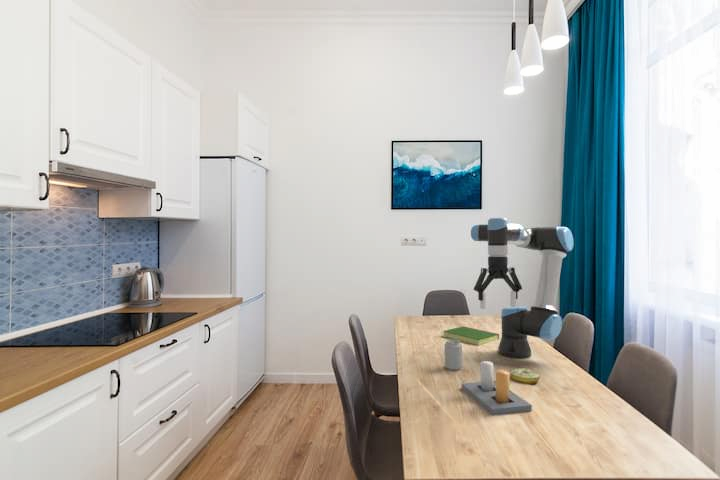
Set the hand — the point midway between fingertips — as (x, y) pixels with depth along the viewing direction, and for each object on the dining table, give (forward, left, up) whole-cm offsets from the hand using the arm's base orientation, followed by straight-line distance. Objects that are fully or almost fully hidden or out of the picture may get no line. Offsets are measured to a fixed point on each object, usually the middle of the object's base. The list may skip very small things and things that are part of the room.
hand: (498, 307), depth 154 cm
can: (+13, -15, -29) cm, 35 cm away
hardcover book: (-17, -60, -29) cm, 69 cm away
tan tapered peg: (+13, +24, -28) cm, 39 cm away
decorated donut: (-9, +4, -29) cm, 31 cm away
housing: (+13, +19, -29) cm, 37 cm away
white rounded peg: (+13, +14, -28) cm, 34 cm away
